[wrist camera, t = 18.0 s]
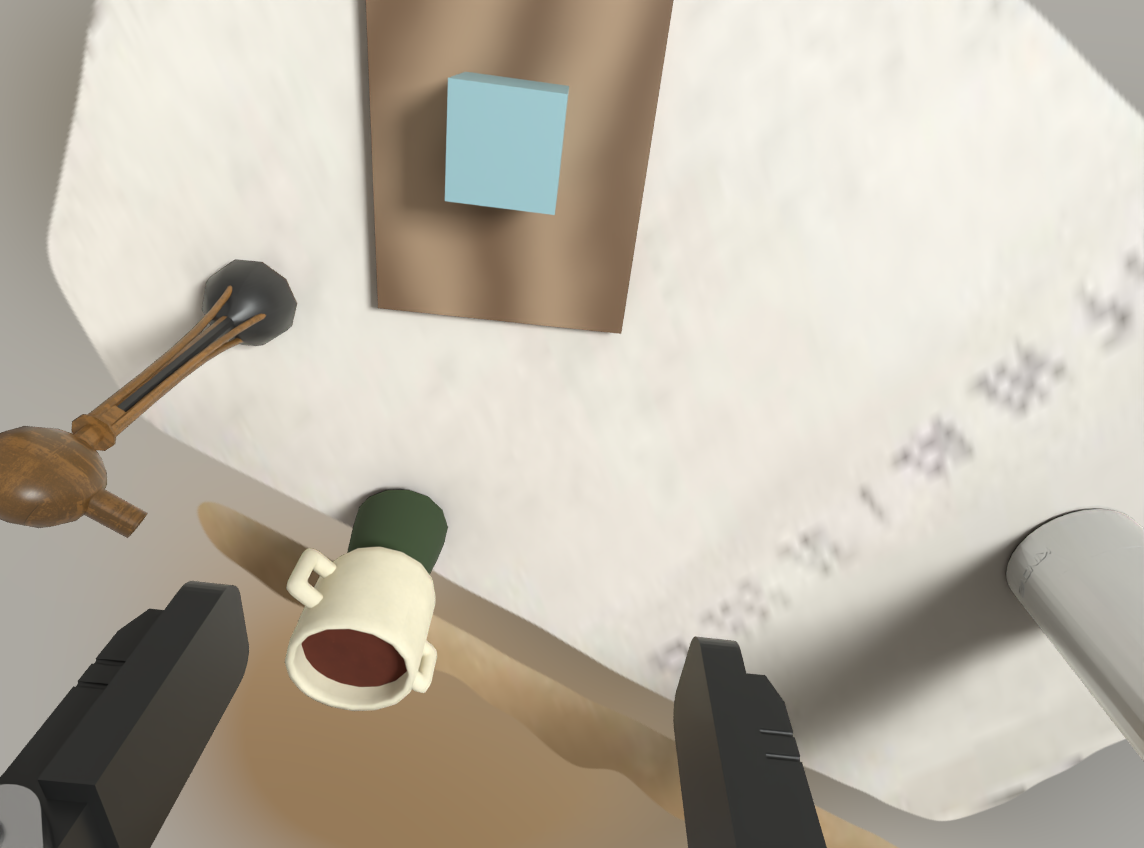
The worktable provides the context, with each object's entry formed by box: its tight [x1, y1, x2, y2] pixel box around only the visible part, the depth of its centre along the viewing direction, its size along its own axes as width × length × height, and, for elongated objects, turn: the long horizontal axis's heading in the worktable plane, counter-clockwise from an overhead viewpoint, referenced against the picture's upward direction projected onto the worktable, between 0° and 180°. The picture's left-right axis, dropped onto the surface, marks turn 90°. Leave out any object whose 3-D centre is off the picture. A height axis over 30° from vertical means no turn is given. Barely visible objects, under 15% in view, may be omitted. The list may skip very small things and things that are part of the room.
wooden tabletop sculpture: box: [0, 260, 297, 538], centre depth 31 cm, size 6×5×20 cm
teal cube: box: [445, 72, 569, 215], centre depth 31 cm, size 5×5×5 cm
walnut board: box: [366, 0, 673, 334], centre depth 34 cm, size 14×20×1 cm
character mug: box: [285, 490, 448, 711], centre depth 42 cm, size 11×7×13 cm, turn 37°
